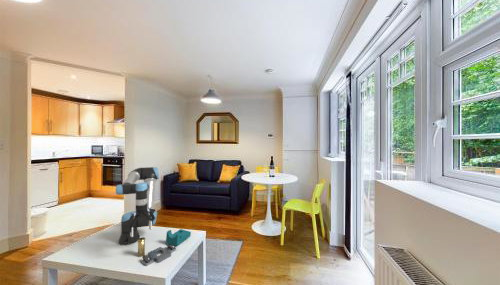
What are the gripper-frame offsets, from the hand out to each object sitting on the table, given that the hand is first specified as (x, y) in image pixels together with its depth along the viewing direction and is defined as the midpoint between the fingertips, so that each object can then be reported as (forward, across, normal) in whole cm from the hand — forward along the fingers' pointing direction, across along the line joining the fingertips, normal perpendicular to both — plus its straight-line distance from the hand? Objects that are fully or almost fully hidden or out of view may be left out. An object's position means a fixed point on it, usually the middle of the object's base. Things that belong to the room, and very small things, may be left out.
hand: (141, 232), depth 145 cm
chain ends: (+17, +7, -12) cm, 22 cm away
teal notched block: (+17, +29, -4) cm, 34 cm away
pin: (+17, 0, 0) cm, 17 cm away
